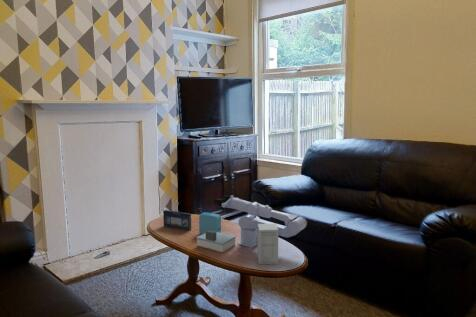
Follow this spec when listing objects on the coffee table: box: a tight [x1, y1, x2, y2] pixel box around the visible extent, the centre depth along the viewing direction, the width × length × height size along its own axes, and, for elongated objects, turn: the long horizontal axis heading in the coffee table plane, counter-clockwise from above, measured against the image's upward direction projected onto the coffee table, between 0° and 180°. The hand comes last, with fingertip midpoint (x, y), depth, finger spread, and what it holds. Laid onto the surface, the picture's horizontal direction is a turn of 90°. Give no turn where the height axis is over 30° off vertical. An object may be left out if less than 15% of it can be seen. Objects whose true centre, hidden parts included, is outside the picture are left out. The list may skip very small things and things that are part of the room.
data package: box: [198, 211, 222, 235], centre depth 214 cm, size 12×4×12 cm, turn 63°
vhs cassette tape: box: [162, 209, 192, 232], centre depth 225 cm, size 18×3×10 cm, turn 64°
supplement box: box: [256, 223, 279, 265], centre depth 180 cm, size 10×9×17 cm
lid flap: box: [196, 230, 237, 245], centre depth 197 cm, size 16×12×5 cm
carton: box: [196, 238, 236, 254], centre depth 198 cm, size 16×12×4 cm
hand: (218, 199), depth 209 cm, fingers open, 7 cm apart
